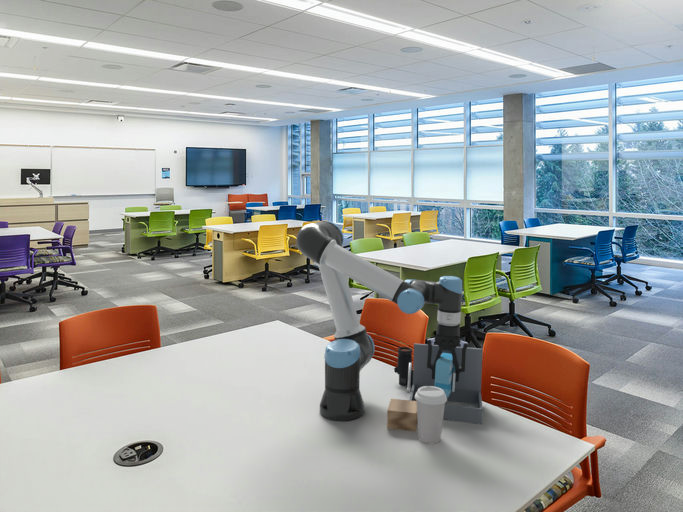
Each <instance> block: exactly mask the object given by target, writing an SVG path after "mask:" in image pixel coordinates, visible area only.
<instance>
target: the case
mask: <svg viewBox="0 0 683 512" xmlns="http://www.w3.org/2000/svg"><path fill="white" fill-rule="evenodd" d="M438 349H439V346H438V345H437V344H434V345H432V357H431V364H433V363H434V361H435V358H436V355H437V352H438ZM455 351H456V356H457V361H458V365H459V367H461V360H462V348H461V346H457V347H456V348H455ZM483 351H484V349H483V348H481V347H480V348H478V347H467V349H466V357H465V371H464V372H460V373H459V381H458V382H455V391H454V392H452V391H451V393H450V395H449V397H448V398H447V401H446V402H451V403H459V404H460V403H463V404H472V405H477V407H471V406H463V405H453V404H452V405H451V404H445V407H444V415H443V421H447V422H448V421H449V422H459V423H467V424H477V425H483V413H484V412H483V409H484V407H483V400H482V376H483V375H482V372H483V371H482V370H483V357H484V356H483V353H484V352H483ZM442 353H449V354H452V353H451V351H448V350H443V351H442ZM442 353H441V355H442ZM427 359H428V344H427V343H424V344H423V343H413V359H412V362H413V363H409V371H408V385H407V387H406V393H410V395H409V398H408V400H411V401H415V400H416V399H415V394H416V392H417V391H418V389H419V388H420V387H424V386H434V387H435V379H432V369H430V368H427ZM411 369H412V370H413V386H410V383H411Z"/></svg>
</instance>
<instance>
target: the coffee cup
mask: <svg viewBox="0 0 683 512" xmlns="http://www.w3.org/2000/svg"><path fill="white" fill-rule="evenodd" d="M414 400H415V401H416V402H417V418H418V422H417V434H418V435H417V436H418V439H419V440H420V442H422V443H425V444H427V445H428V444H429V445H433V444H437V443H439V442H441V438H442V430H443V429H442V428H443V422H444V420H443V415H444V407H445V405H446V402H448V401H447V397H446V394H445V392H444V390H442V389H441V388H438V387H434V386H424V387H420V388H419V389H418V391H417V392H416V394H415V399H414Z"/></svg>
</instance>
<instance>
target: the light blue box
mask: <svg viewBox="0 0 683 512" xmlns="http://www.w3.org/2000/svg"><path fill="white" fill-rule="evenodd" d="M453 370H455V367H454V362H453V357H452V354H449V353H442V355H441V356H440V358H439V359H438V360H437V362H436V370H435V387H438V388H441V389H442V390H444V392H445V394H446V397H447V398H448V397H449V395H450V393H451V391H452V385H453Z"/></svg>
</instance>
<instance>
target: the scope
mask: <svg viewBox="0 0 683 512" xmlns="http://www.w3.org/2000/svg"><path fill="white" fill-rule="evenodd" d="M412 353H413V349H412V348H411V347H407V346H400V347H398V348H397V366H395V367H394V368H393V370H394V373H395V374H397V375H398V384H399V385H400V386H402V387H403V386H405V387H406V386H407V385H408V371H409V363H412V362H413V359H412V358H413V357H412V355H413V354H412ZM412 364H413V363H412ZM412 386H413V368H412V369H411V383H410V387H412Z"/></svg>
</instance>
